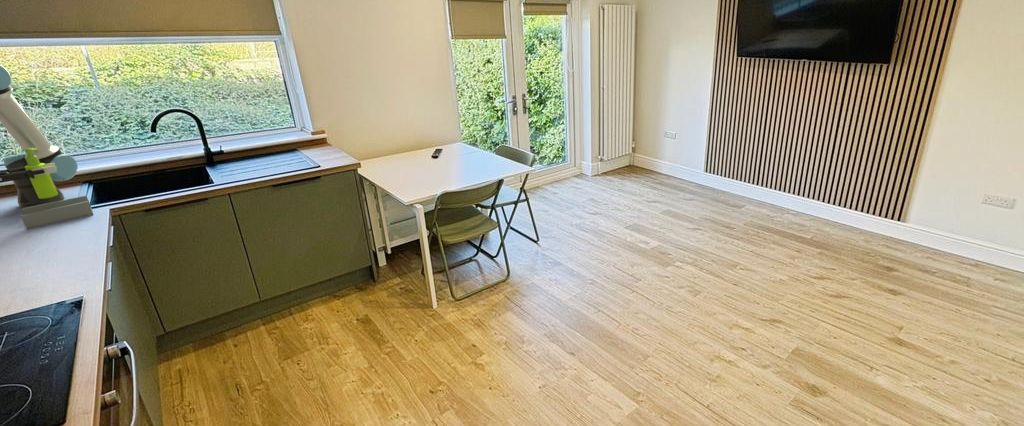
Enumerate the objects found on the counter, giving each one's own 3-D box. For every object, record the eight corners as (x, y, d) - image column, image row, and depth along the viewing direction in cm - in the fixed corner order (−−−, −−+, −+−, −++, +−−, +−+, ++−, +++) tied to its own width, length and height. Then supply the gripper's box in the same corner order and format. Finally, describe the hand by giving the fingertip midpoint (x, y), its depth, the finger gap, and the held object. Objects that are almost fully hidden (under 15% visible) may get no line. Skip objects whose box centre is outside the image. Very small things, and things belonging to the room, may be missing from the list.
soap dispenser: (48, 199, 181) (26, 150, 173) (34, 198, 182) (12, 149, 175) (64, 194, 187) (43, 146, 179) (50, 193, 188) (30, 146, 180)
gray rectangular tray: (28, 221, 187) (21, 208, 184) (91, 208, 199) (86, 195, 197) (27, 229, 179) (20, 216, 176) (93, 214, 191) (87, 201, 189)
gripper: (-21, 185, 177) (59, 172, 192) (-27, 196, 164) (59, 180, 179) (-31, 167, 174) (51, 154, 189) (-37, 176, 161) (51, 162, 176)
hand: (55, 167), depth 184 cm, fingers closed on soap dispenser, 6 cm apart
